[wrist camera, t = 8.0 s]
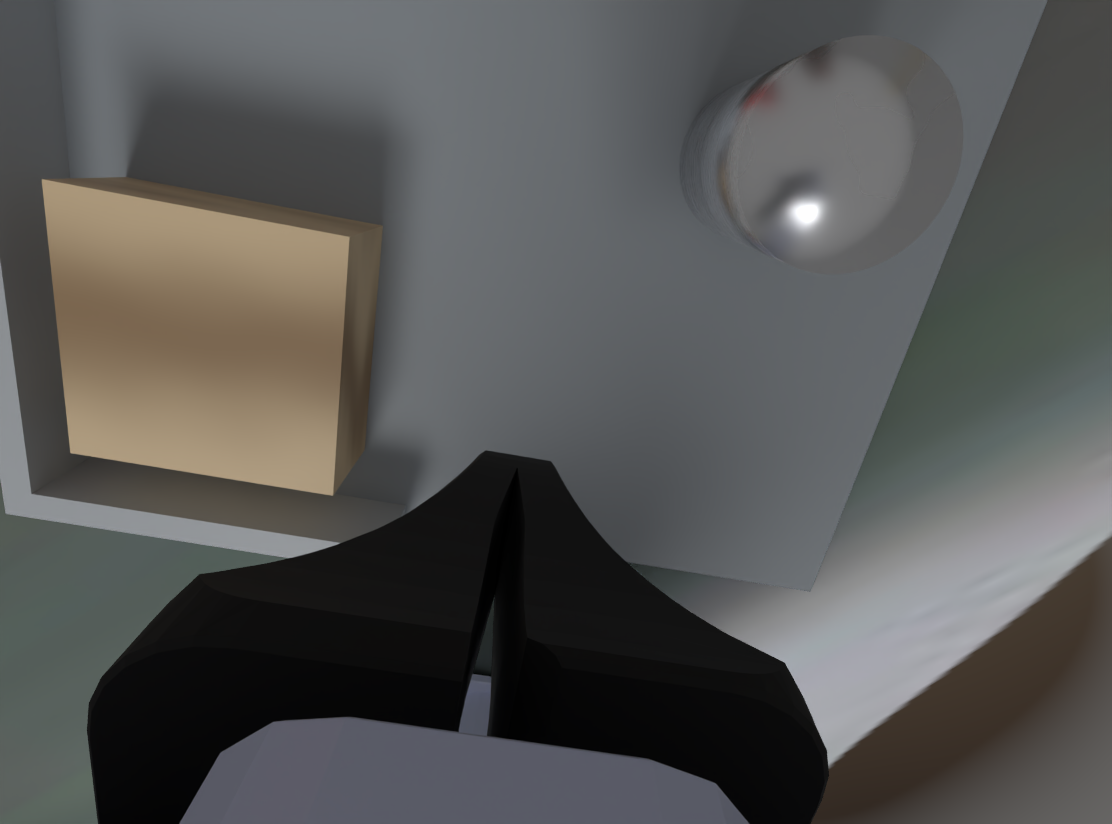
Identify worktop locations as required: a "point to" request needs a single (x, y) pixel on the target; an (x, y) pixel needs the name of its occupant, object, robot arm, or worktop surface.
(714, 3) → the parts board
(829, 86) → the metal peg
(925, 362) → the worktop surface
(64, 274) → the oak tile
